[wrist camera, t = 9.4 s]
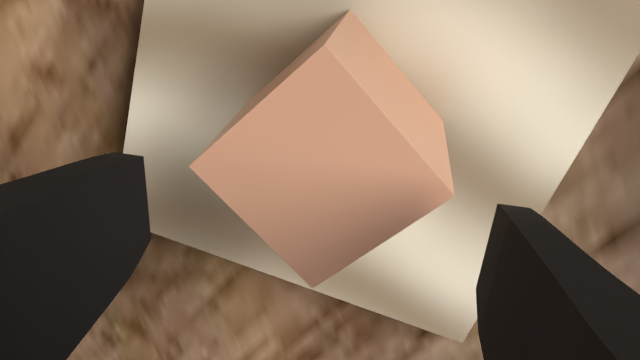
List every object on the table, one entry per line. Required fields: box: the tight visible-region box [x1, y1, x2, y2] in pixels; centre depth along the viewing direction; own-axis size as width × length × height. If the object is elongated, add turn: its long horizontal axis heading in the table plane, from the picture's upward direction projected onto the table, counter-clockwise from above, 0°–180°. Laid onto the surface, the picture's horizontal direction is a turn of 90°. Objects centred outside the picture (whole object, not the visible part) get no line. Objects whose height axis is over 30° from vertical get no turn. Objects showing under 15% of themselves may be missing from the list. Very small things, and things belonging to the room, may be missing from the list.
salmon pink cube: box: [189, 9, 455, 289], centre depth 14 cm, size 4×4×5 cm
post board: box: [123, 0, 640, 343], centre depth 16 cm, size 14×14×4 cm
